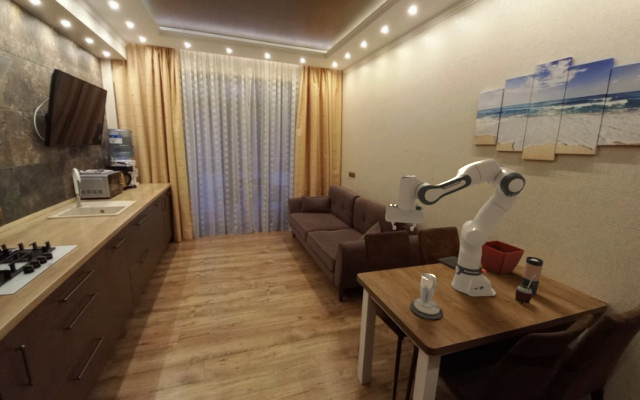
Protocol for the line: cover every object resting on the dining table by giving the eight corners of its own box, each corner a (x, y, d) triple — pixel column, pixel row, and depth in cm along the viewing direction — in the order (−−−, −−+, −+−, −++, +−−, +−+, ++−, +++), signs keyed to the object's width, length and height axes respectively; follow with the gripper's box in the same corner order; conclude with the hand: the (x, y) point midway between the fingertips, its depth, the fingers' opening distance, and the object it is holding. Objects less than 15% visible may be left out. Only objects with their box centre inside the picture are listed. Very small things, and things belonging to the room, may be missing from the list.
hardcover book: (453, 259, 199) (454, 256, 198) (482, 272, 178) (483, 269, 177) (437, 261, 192) (438, 258, 192) (465, 276, 172) (466, 273, 171)
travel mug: (537, 291, 155) (544, 259, 151) (535, 296, 150) (543, 263, 146) (520, 286, 160) (527, 255, 156) (518, 291, 155) (525, 259, 151)
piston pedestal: (436, 302, 139) (437, 297, 139) (447, 321, 125) (448, 315, 124) (406, 300, 140) (407, 295, 140) (414, 318, 126) (415, 312, 125)
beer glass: (434, 304, 133) (439, 276, 129) (429, 310, 127) (434, 281, 124) (420, 298, 137) (424, 271, 134) (415, 304, 132) (419, 276, 129)
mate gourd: (514, 301, 144) (519, 276, 141) (514, 295, 150) (519, 270, 147) (531, 307, 139) (537, 280, 136) (530, 300, 146) (536, 274, 143)
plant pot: (500, 278, 170) (505, 253, 167) (473, 265, 188) (477, 242, 184) (520, 274, 177) (525, 250, 174) (493, 262, 194) (497, 240, 191)
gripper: (387, 205, 142) (384, 230, 144) (426, 207, 140) (423, 233, 143) (385, 203, 148) (382, 227, 150) (422, 205, 147) (420, 229, 149)
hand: (402, 230), depth 147 cm, fingers open, 8 cm apart
